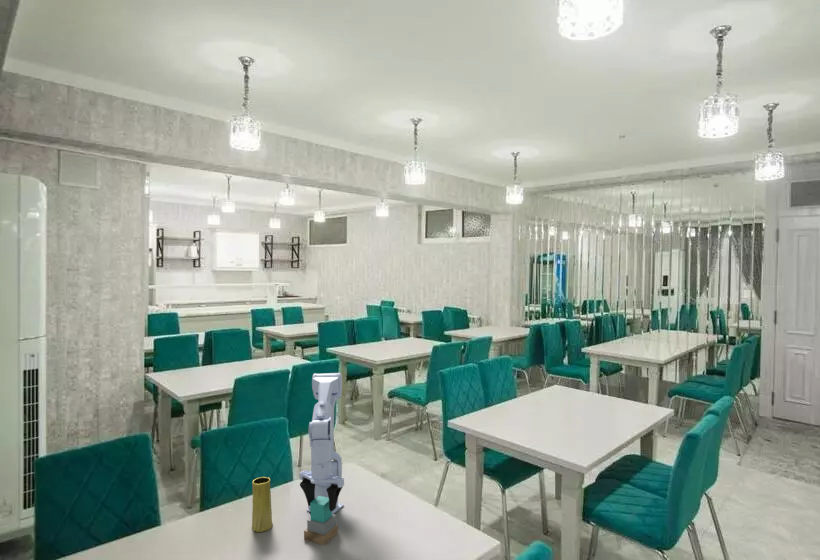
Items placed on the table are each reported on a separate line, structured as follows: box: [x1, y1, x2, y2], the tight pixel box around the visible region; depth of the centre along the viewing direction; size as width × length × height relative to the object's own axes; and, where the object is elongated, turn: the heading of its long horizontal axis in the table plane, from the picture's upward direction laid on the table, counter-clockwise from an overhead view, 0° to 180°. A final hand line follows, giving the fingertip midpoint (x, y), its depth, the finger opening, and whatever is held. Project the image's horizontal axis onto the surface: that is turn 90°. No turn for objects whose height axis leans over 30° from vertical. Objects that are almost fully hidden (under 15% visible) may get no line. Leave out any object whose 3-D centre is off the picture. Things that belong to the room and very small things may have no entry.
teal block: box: [310, 496, 332, 522], centre depth 136 cm, size 4×4×5 cm
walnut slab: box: [303, 523, 339, 546], centre depth 137 cm, size 7×7×3 cm
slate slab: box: [306, 513, 337, 535], centre depth 136 cm, size 6×6×3 cm
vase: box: [251, 476, 273, 533], centre depth 142 cm, size 6×6×14 cm
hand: (321, 506), depth 136 cm, fingers open, 7 cm apart
